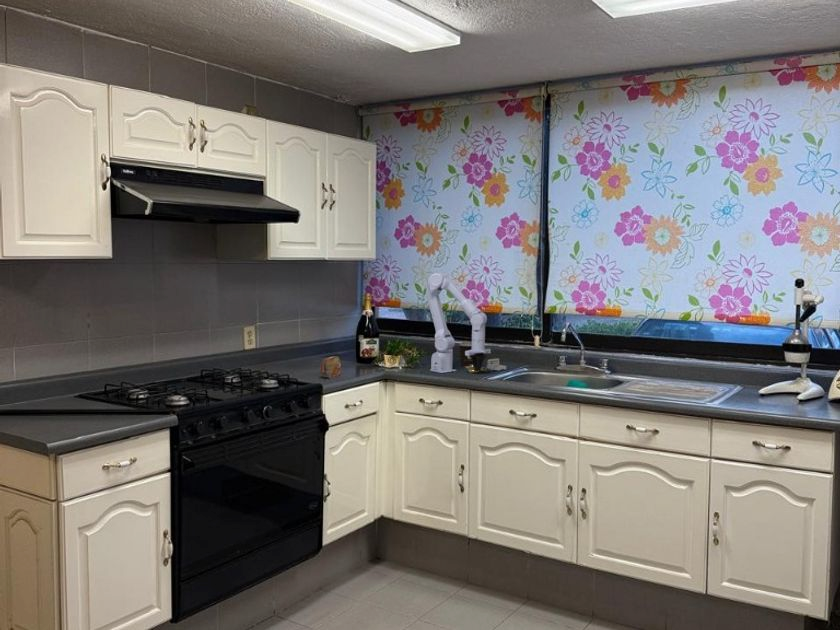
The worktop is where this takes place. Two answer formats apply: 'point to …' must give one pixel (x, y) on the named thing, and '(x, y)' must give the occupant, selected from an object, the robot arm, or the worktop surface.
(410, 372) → the worktop surface
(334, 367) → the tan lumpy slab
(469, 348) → the coffee mug
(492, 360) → the stand
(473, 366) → the cam
